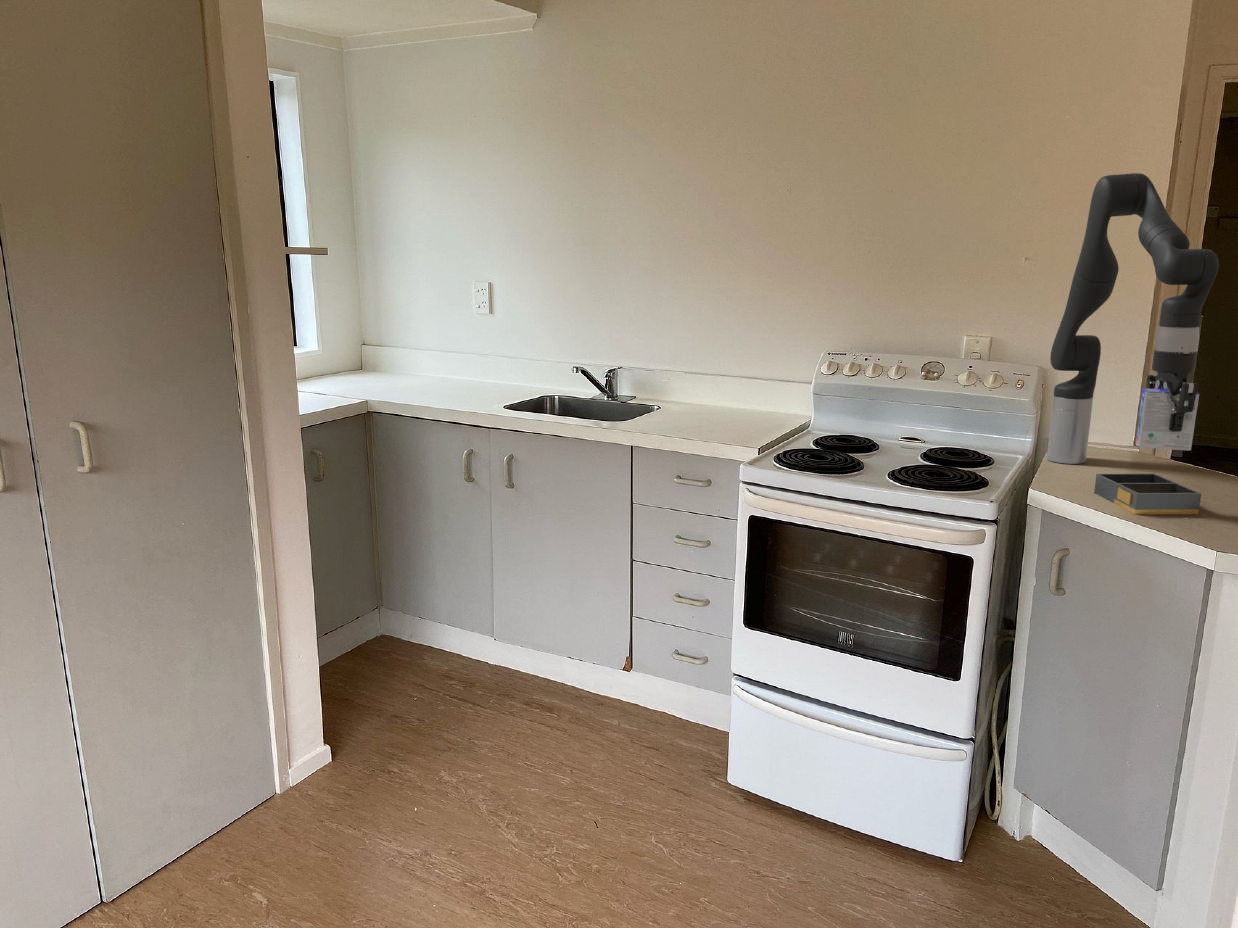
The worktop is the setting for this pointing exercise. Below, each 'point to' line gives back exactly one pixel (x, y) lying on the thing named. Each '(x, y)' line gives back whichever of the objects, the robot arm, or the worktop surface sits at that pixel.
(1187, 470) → the worktop surface
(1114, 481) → the tray
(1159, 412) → the ink cartridge box
